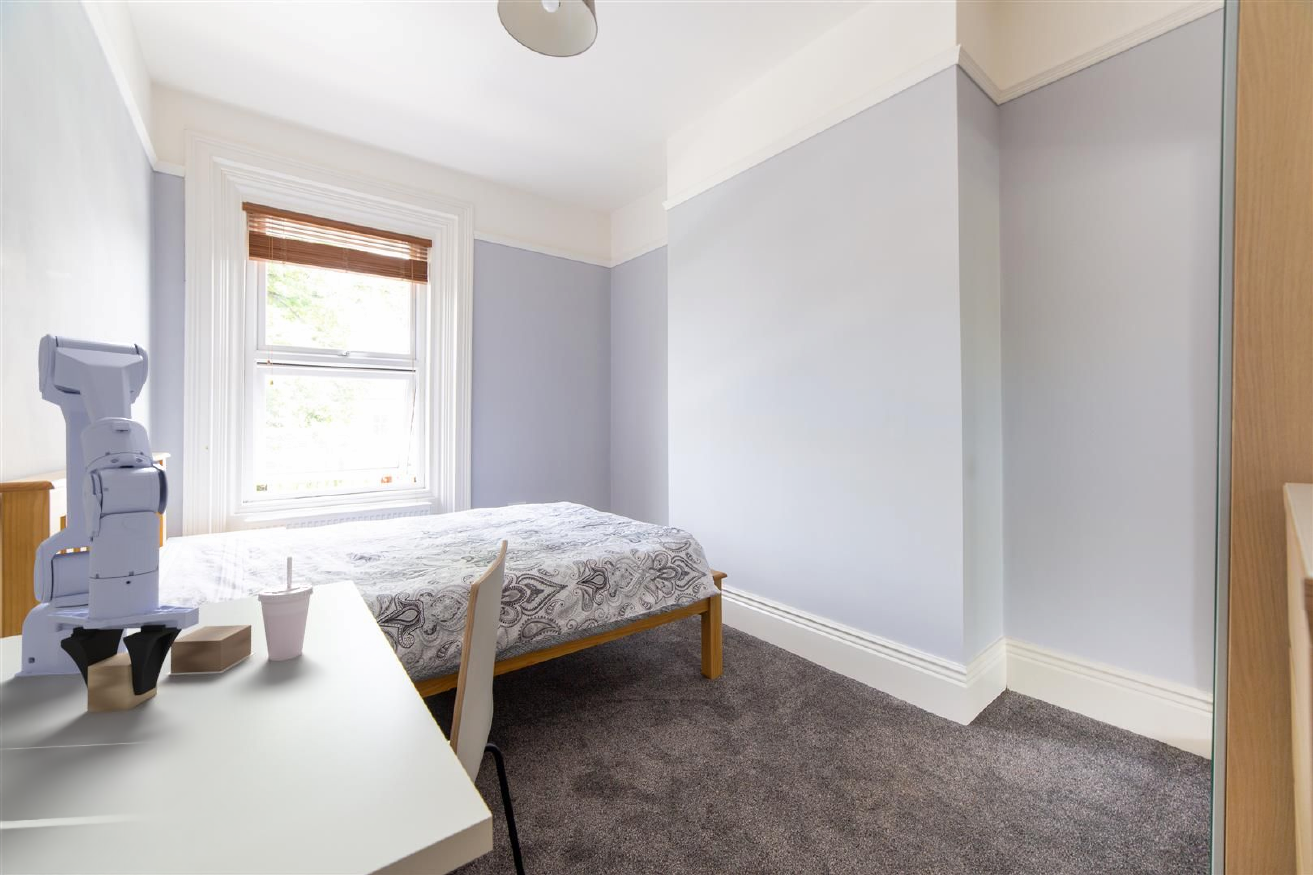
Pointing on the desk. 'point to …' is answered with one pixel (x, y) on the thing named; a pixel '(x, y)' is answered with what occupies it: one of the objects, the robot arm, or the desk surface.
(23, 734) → the desk surface
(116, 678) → the oak block
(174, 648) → the walnut block
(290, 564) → the smoothie
